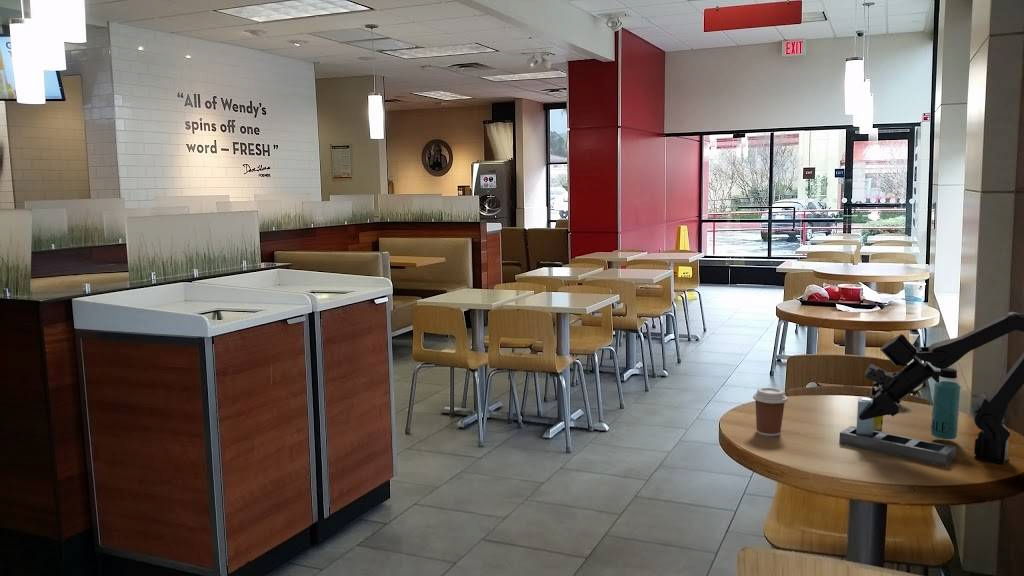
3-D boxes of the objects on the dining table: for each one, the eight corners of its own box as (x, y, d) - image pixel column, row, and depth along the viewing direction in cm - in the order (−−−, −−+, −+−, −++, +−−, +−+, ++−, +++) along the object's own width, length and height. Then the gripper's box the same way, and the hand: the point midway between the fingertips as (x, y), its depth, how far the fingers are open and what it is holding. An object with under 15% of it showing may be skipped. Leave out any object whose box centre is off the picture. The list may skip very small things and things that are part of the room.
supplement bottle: (883, 434, 226) (885, 405, 225) (865, 433, 227) (867, 404, 226) (879, 429, 231) (881, 400, 230) (861, 428, 232) (863, 399, 230)
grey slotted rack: (954, 458, 207) (955, 446, 207) (945, 466, 201) (946, 454, 201) (850, 436, 224) (850, 425, 224) (839, 443, 218) (839, 432, 218)
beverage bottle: (957, 439, 222) (963, 367, 219) (956, 446, 216) (962, 372, 213) (930, 436, 225) (935, 364, 222) (928, 442, 219) (934, 369, 217)
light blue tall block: (871, 442, 219) (874, 397, 217) (872, 447, 215) (874, 401, 214) (855, 440, 220) (858, 396, 219) (855, 445, 217) (858, 400, 215)
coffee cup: (765, 425, 234) (767, 384, 232) (792, 433, 226) (794, 391, 225) (744, 431, 228) (746, 389, 227) (771, 439, 221) (773, 396, 219)
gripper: (884, 349, 222) (838, 384, 227) (887, 363, 205) (837, 401, 210) (914, 380, 220) (867, 415, 225) (920, 397, 203) (869, 434, 208)
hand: (859, 415), depth 217 cm, fingers open, 6 cm apart
